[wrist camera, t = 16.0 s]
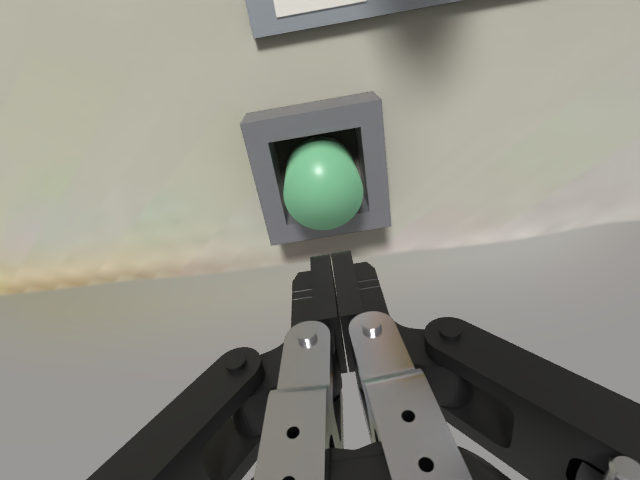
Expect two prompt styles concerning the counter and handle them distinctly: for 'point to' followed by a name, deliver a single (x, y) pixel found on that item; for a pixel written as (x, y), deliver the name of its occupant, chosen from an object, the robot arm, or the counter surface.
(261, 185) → the button housing
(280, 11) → the sheet board
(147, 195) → the counter surface
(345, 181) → the button
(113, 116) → the counter surface
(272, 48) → the counter surface
